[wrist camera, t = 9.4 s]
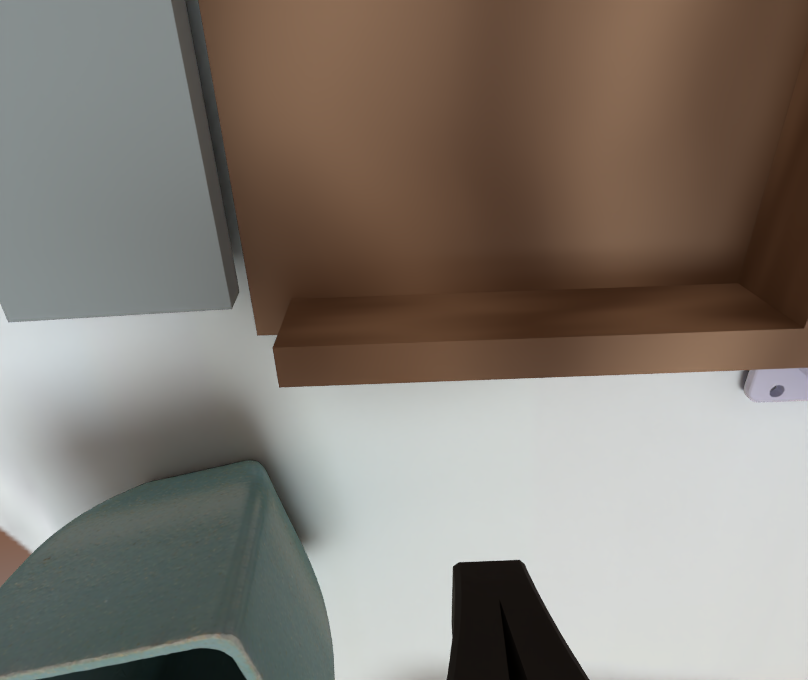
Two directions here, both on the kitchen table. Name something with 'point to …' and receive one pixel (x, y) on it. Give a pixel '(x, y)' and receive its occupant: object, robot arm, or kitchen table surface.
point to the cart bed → (518, 184)
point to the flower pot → (170, 589)
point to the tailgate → (106, 164)
